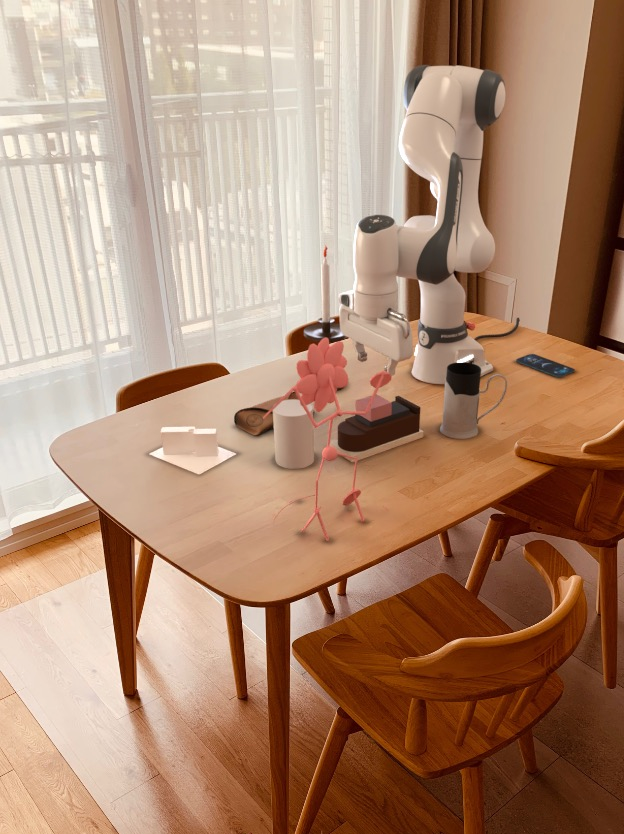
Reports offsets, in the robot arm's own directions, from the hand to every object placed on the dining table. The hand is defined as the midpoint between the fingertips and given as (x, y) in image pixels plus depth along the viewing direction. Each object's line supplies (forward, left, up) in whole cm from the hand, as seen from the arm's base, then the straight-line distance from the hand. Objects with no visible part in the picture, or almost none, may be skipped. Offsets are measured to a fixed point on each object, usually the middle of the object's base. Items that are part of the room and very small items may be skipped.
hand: (375, 367), depth 167 cm
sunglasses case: (+11, -23, -18) cm, 31 cm away
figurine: (+27, +18, -18) cm, 37 cm away
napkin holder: (+34, -19, -18) cm, 43 cm away
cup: (+18, -4, -18) cm, 26 cm away
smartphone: (-65, -8, -18) cm, 68 cm away
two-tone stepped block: (-2, 0, -12) cm, 12 cm away
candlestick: (-10, -32, -18) cm, 38 cm away
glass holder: (-22, +8, -18) cm, 29 cm away
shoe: (-1, 0, -18) cm, 18 cm away
